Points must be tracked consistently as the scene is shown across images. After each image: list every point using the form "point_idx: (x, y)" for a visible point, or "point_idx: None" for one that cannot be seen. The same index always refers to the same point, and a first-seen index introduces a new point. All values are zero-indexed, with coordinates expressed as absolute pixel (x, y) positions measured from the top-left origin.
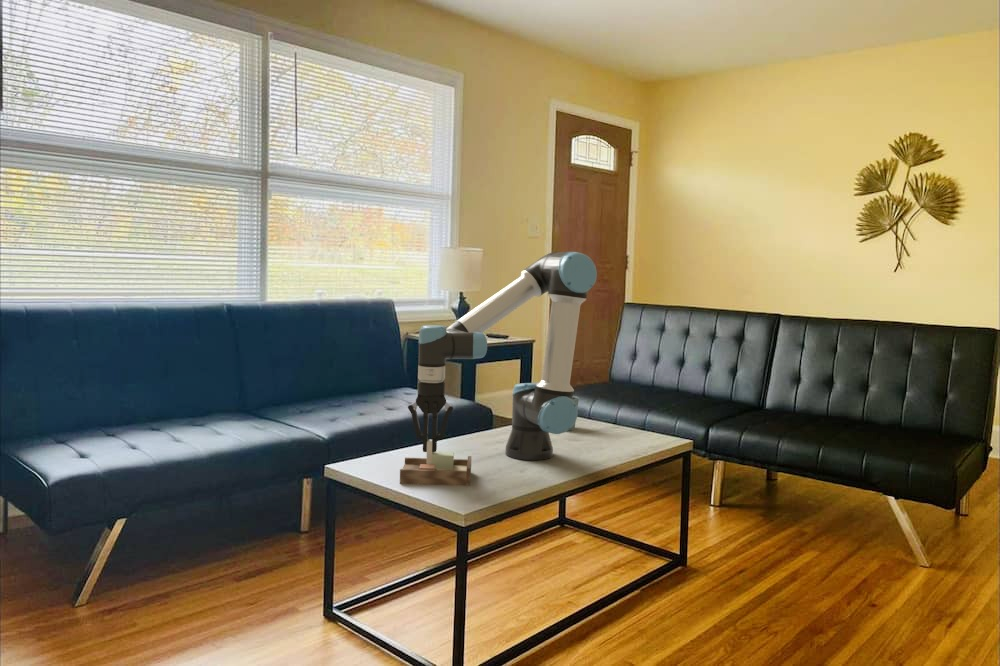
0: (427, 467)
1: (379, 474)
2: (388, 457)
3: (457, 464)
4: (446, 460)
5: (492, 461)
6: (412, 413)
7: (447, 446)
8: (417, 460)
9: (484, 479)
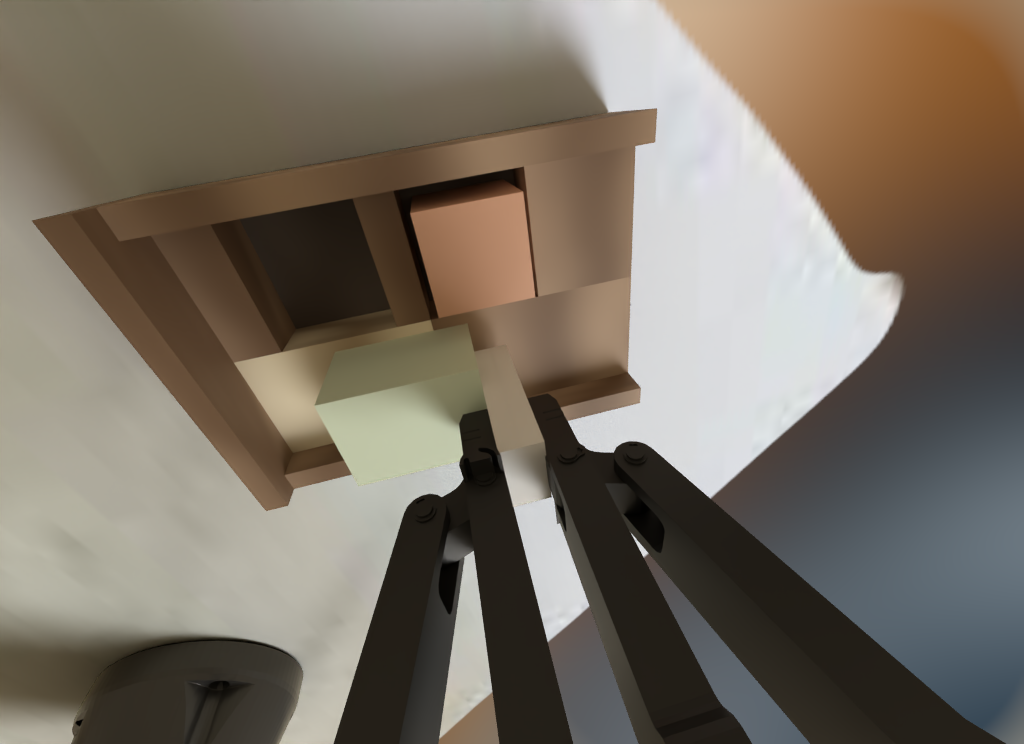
0: (465, 224)
1: (719, 278)
2: None
3: None
4: (369, 374)
5: (293, 589)
6: (948, 725)
7: None
8: (570, 398)
9: None
